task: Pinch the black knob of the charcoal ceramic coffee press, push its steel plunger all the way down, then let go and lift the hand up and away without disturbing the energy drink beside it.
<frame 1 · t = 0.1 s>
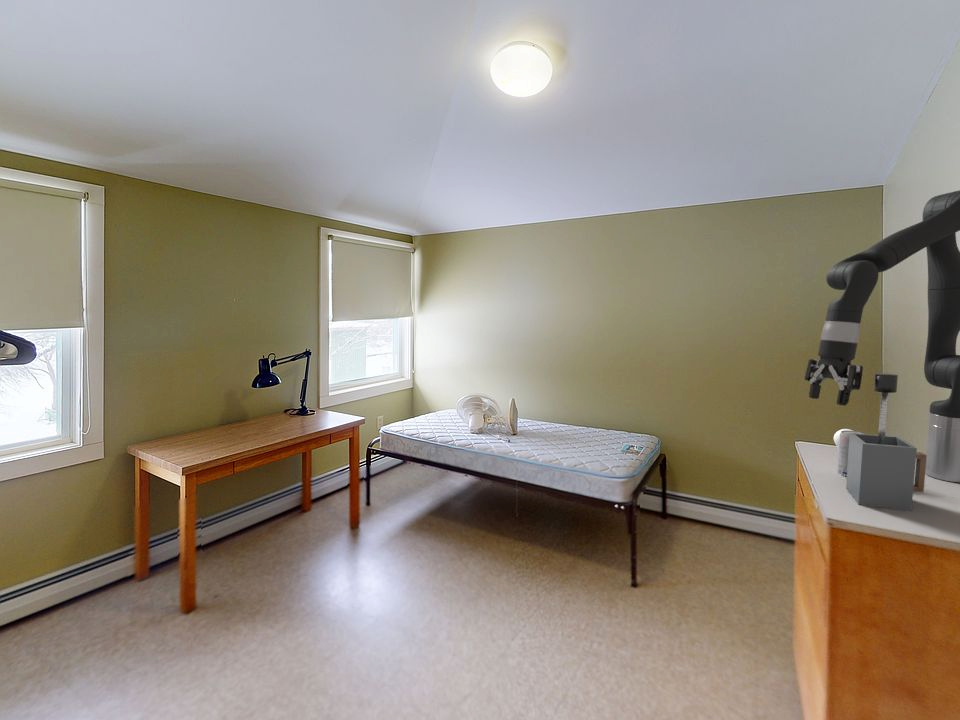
hand: (827, 401, 115), 23 cm above the table, tool pointing down, fingers open, 8 cm apart
press: (876, 499, 108), on the table
plunger: (882, 417, 106), point 21 cm above the table, slide at 0.0 cm
lightbulb: (845, 466, 131), on the table
energy drink: (849, 475, 124), on the table
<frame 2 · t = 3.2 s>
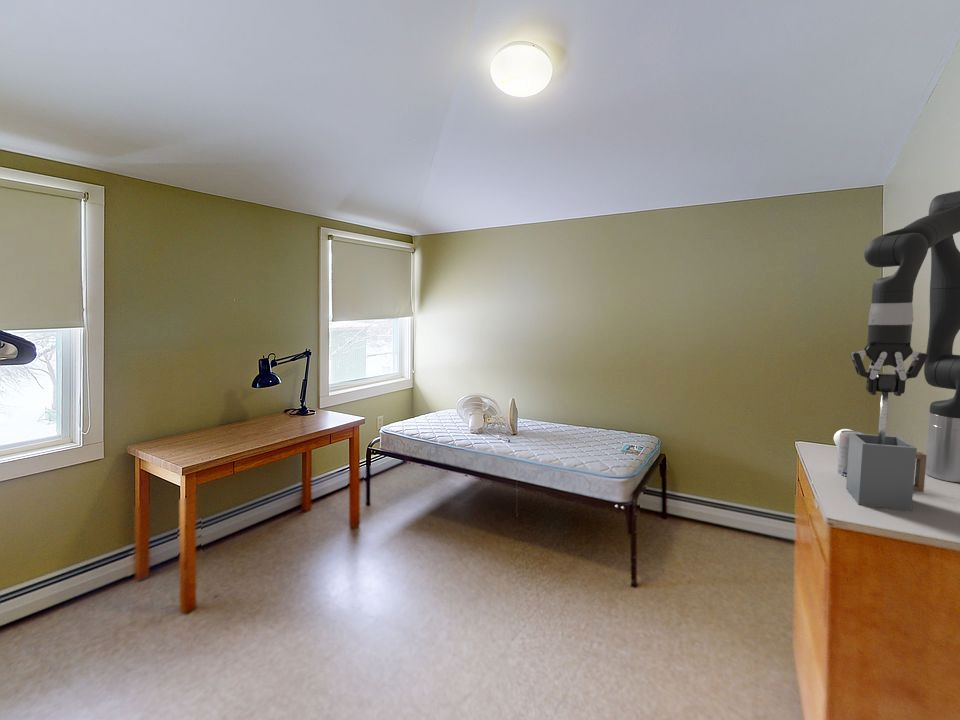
hand: (884, 394, 105), 26 cm above the table, tool pointing down, fingers closed on plunger, 4 cm apart
plunger: (883, 417, 106), point 21 cm above the table, slide at -0.1 cm, touching gripper
everything else where it was.
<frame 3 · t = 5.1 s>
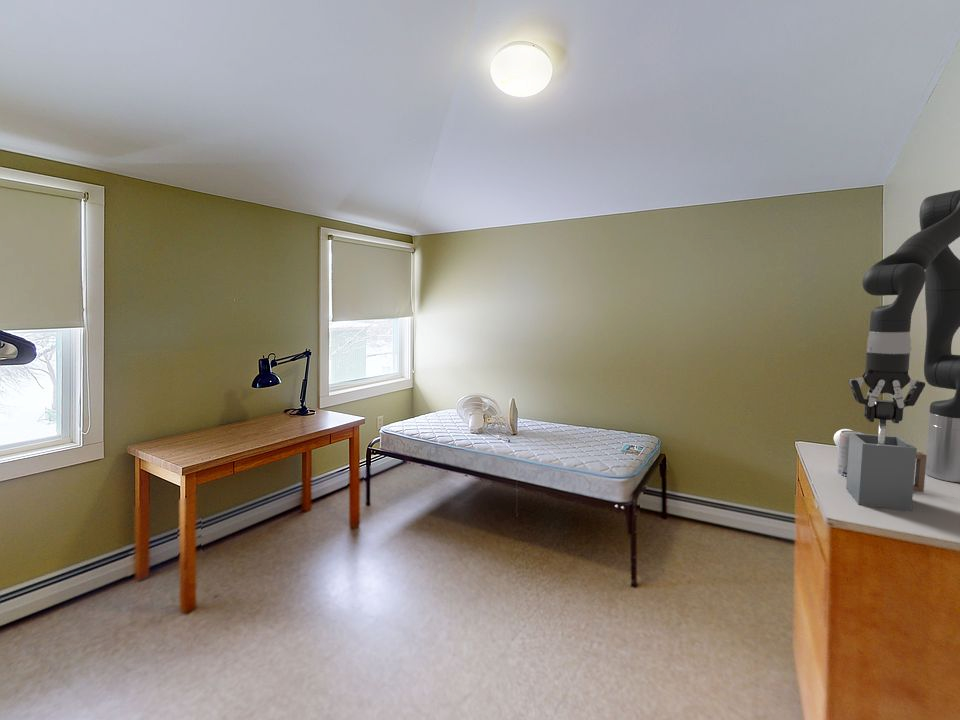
hand: (882, 421, 106), 20 cm above the table, tool pointing down, fingers closed on plunger, 4 cm apart
plunger: (881, 443, 107), point 14 cm above the table, slide at 6.5 cm, touching gripper
everything else where it was.
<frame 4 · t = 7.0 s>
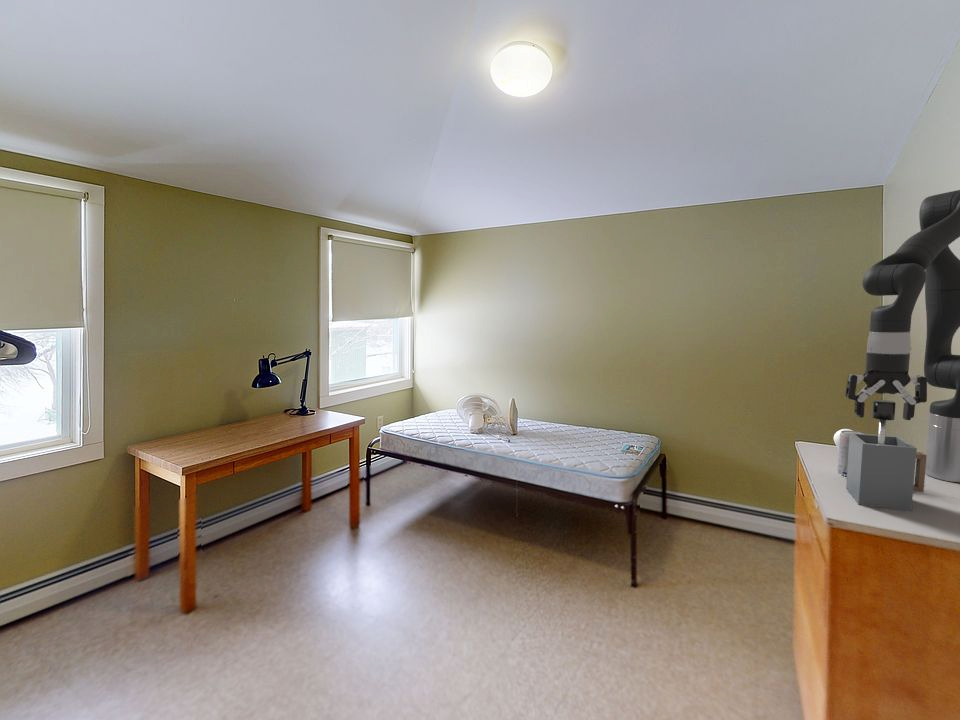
hand: (882, 418, 106), 20 cm above the table, tool pointing down, fingers open, 8 cm apart
plunger: (880, 444, 107), point 14 cm above the table, slide at 6.6 cm
everything else where it was.
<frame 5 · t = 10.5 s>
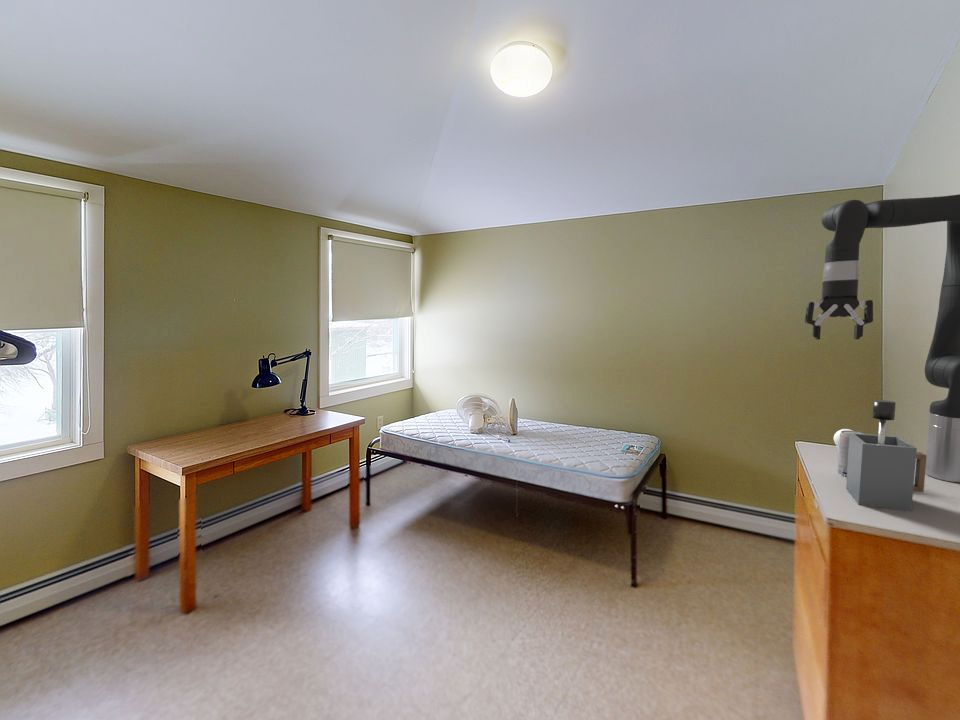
hand: (836, 339, 121), 38 cm above the table, tool pointing down, fingers open, 8 cm apart
nothing on the table moved.
at the end: plunger slide at 6.6 cm; the gripper is holding nothing; energy drink moved 0.2 cm from its start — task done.
